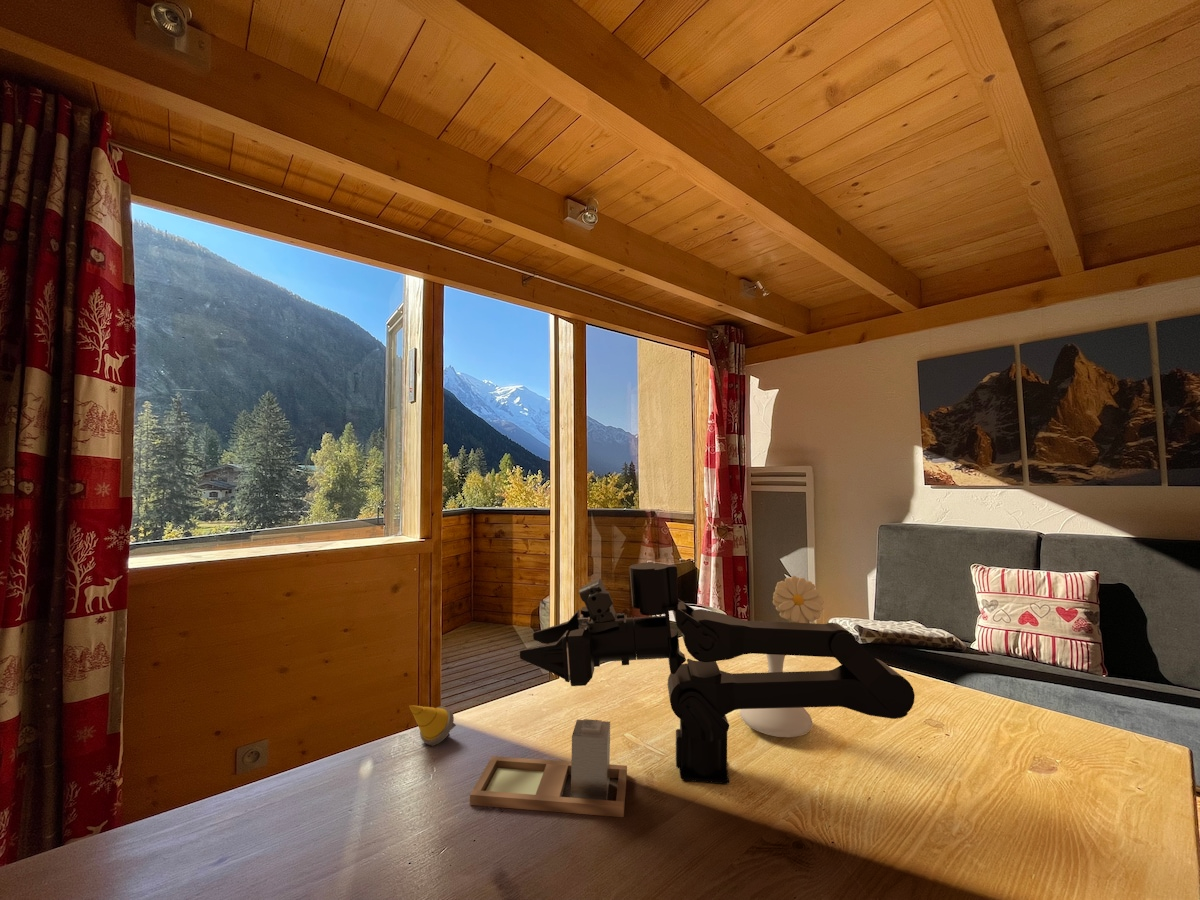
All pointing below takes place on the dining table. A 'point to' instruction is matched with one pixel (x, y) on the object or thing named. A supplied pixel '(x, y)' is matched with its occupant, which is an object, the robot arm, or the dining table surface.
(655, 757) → the dining table surface
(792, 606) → the flower in vase
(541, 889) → the dining table surface
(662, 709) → the dining table surface
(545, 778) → the wooden double frame
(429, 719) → the yellow and grey cone
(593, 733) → the grey tall block
